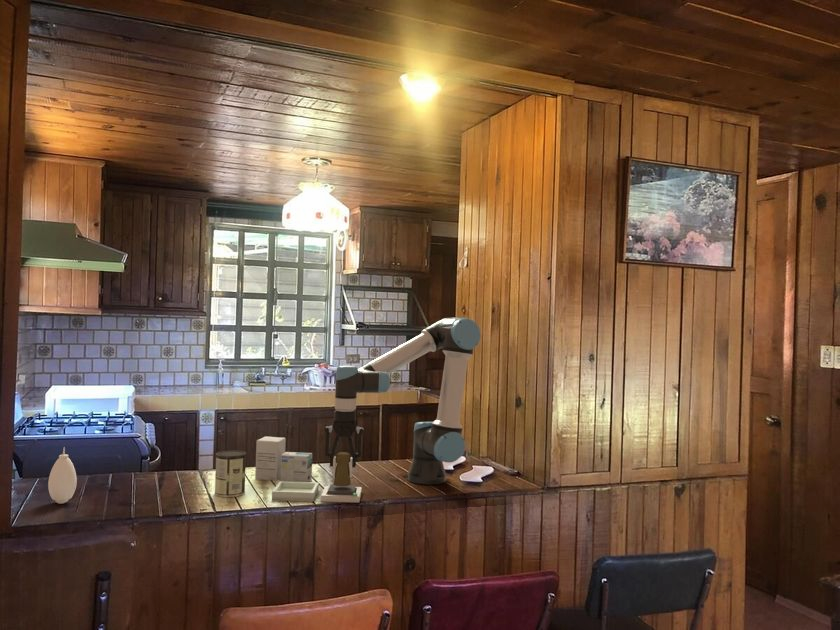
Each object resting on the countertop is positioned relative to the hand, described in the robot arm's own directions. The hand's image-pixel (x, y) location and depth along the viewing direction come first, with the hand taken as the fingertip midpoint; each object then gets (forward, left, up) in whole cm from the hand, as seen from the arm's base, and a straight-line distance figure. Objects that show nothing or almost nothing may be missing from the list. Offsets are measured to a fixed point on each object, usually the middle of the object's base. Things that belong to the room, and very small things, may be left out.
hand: (342, 476), depth 229 cm
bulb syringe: (+88, +17, -7) cm, 90 cm away
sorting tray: (+16, 0, -7) cm, 17 cm away
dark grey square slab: (0, 0, -6) cm, 6 cm away
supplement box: (+30, -25, -7) cm, 40 cm away
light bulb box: (+19, -19, -8) cm, 28 cm away
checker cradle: (0, 0, -7) cm, 7 cm away
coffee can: (+39, 0, -7) cm, 40 cm away
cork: (0, 0, -3) cm, 3 cm away
